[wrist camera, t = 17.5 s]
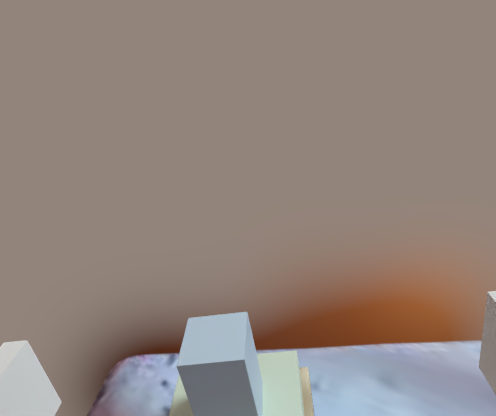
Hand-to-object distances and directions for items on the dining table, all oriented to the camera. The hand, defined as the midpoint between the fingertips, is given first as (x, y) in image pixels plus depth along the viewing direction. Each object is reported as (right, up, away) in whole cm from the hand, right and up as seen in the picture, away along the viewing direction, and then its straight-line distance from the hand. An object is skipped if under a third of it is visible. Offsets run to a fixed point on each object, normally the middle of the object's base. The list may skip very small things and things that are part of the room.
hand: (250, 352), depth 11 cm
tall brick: (-2, -17, +29) cm, 34 cm away
